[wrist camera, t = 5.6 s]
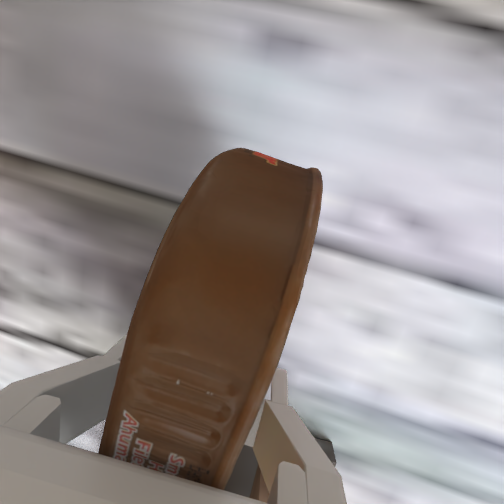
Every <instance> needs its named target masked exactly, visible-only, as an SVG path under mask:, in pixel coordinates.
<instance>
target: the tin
mask: <svg viewBox="0 0 504 504" xmlns="http://www.w3.org/2000/svg"><path fill="white" fill-rule="evenodd" d="M322 191H323V181H322V175H321V172H320V171H319V170H318V169H317V168H308V169H305V168H302V167H299V166H295V165H292V164H289V163H287V162H284V161H281V160H278V159H276V158H273V157H270V156H267V155H264V154H262V153H259V152H256V151H252V150H249V149H245V148H236V149H232V150H228V151H226V152H223V153H221V154H219V155H218V156H216V157H215V158H213V159H212V160H211V161H210V162H209V163H208V164H207V165H206V166H205V168H204V169H203V170H202V171H201V173H200V174H199V175H198V177H197V178H196V180H195V181H194V182H193V184H192V186H191V187H190V189H189V190H188V192H187V194H186V195H185V197H184V199H183V200H182V202H181V204H180V206H179V207H178V209H177V211H176V212H175V214H174V216H173V218H172V220H171V222H170V224H169V226H168V229H167V231H166V233H165V235H164V237H163V239H162V241H161V243H160V246H159V248H158V250H157V253H156V255H155V258H154V260H153V262H152V265H151V268H150V270H149V273H148V275H147V278H146V280H145V283H144V286H143V289H142V291H141V294H140V297H139V300H138V303H137V305H136V308H135V311H134V314H133V317H132V320H131V323H130V327H129V330H128V333H127V337H126V341H125V345H124V349H123V353H122V357H121V361H120V365H119V369H118V373H117V377H116V382H115V386H114V390H113V393H112V397H111V401H110V406H109V410H108V414H107V418H106V422H105V427H104V432H103V436H102V440H101V444H100V448H99V453H98V454H101V455H105V456H108V457H112V458H115V459H118V460H122V461H125V462H129V463H132V464H136V465H139V466H142V467H146V468H149V469H153V470H156V471H160V472H163V473H167V474H170V475H173V476H177V477H180V478H184V479H187V480H191V481H194V482H197V483H201V484H204V485H208V486H211V487H214V488H218V489H221V490H224V489H225V487H226V485H227V483H228V481H229V479H230V477H231V474H232V472H233V469H234V467H235V464H236V462H237V459H238V457H239V455H240V452H241V450H242V448H243V446H244V444H245V442H246V440H247V437H248V435H249V432H250V430H251V428H252V426H253V424H254V422H255V420H256V417H257V415H258V412H259V410H260V408H261V405H262V403H263V400H264V398H265V396H266V393H267V391H268V389H269V386H270V384H271V381H272V379H273V376H274V373H275V371H276V368H277V365H278V363H279V360H280V357H281V354H282V351H283V348H284V345H285V342H286V339H287V336H288V332H289V329H290V326H291V323H292V320H293V316H294V313H295V310H296V308H297V305H298V302H299V299H300V294H301V290H302V288H303V283H304V277H305V274H306V272H307V267H308V263H309V260H310V257H311V252H312V247H313V244H314V239H315V235H316V232H317V226H318V220H319V215H320V210H321V199H322Z"/></svg>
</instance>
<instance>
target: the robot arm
mask: <svg viewBox="0 0 504 504" xmlns="http://www.w3.org/2000/svg"><path fill="white" fill-rule="evenodd" d="M126 337H127V334H126V335H125V336H124V337H123V338H122V339H121V340H120V341H119V342H118V343H117V344H115V345H114V346H113V347H112V348H111V349H110V350H109V351H108V352H107V353H106V354H105V355H103V356H100V355H97V356H94V357H91V358H88V359H85V360H82V361H79V362H76V363H73V364H69V365H66V366H63V367H60V368H57V369H54V370H51V371H48V372H44V373H41V374H38V375H35V376H32V377H29V378H26V379H23V380H19V381H16V382H13V383H11V384H9V385H8V386H7V387H5V388H4V389H2V390H1V391H0V504H347V503H346V498H345V493H344V488H343V483H342V478H341V475H340V474H339V472H338V471H337V470H336V468H335V467H334V465H333V464H332V462H331V461H330V460H329V458H328V457H327V455H326V454H325V453H324V451H323V450H322V448H321V447H320V445H319V444H318V443H317V441H316V440H315V438H314V437H313V436H312V434H311V433H310V431H309V430H308V428H307V427H306V426H305V424H304V423H303V421H302V420H301V418H300V417H299V416H298V414H297V413H296V411H295V410H294V409H293V407H291V406H288V384H287V371H286V370H285V369H280V368H276V371H275V373H274V376H273V379H272V381H271V384H270V386H269V389H268V391H267V393H266V396H265V398H264V400H263V403H262V405H261V408H260V410H259V412H258V415H257V417H256V420H255V422H254V424H253V426H252V428H251V430H250V432H249V435H248V437H247V440H246V442H245V444H244V445H247V446H250V447H253V451H254V453H255V456H256V459H257V461H258V464H259V467H260V470H261V472H262V475H263V478H264V481H265V483H266V486H267V489H268V491H269V497H268V500H267V503H266V502H262V501H259V500H255V499H252V498H249V497H245V496H242V495H238V494H235V493H231V492H228V491H225V490H221V489H218V488H214V487H211V486H208V485H204V484H201V483H197V482H194V481H191V480H187V479H184V478H180V477H177V476H173V475H170V474H167V473H163V472H160V471H156V470H153V469H149V468H146V467H142V466H139V465H136V464H132V463H129V462H125V461H122V460H118V459H115V458H112V457H108V456H105V455H101V454H98V453H94V452H91V451H87V450H84V449H81V448H77V447H74V446H70V445H67V444H66V443H68V442H69V441H71V440H73V439H74V438H76V437H77V436H79V435H81V434H82V433H84V432H85V431H87V430H89V429H90V428H92V427H93V426H95V425H97V424H98V423H100V422H101V421H103V420H105V419H106V418H107V414H108V410H109V406H110V401H111V397H112V393H113V390H114V386H115V382H116V377H117V373H118V369H119V365H120V361H121V357H122V353H123V349H124V345H125V341H126Z"/></svg>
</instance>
